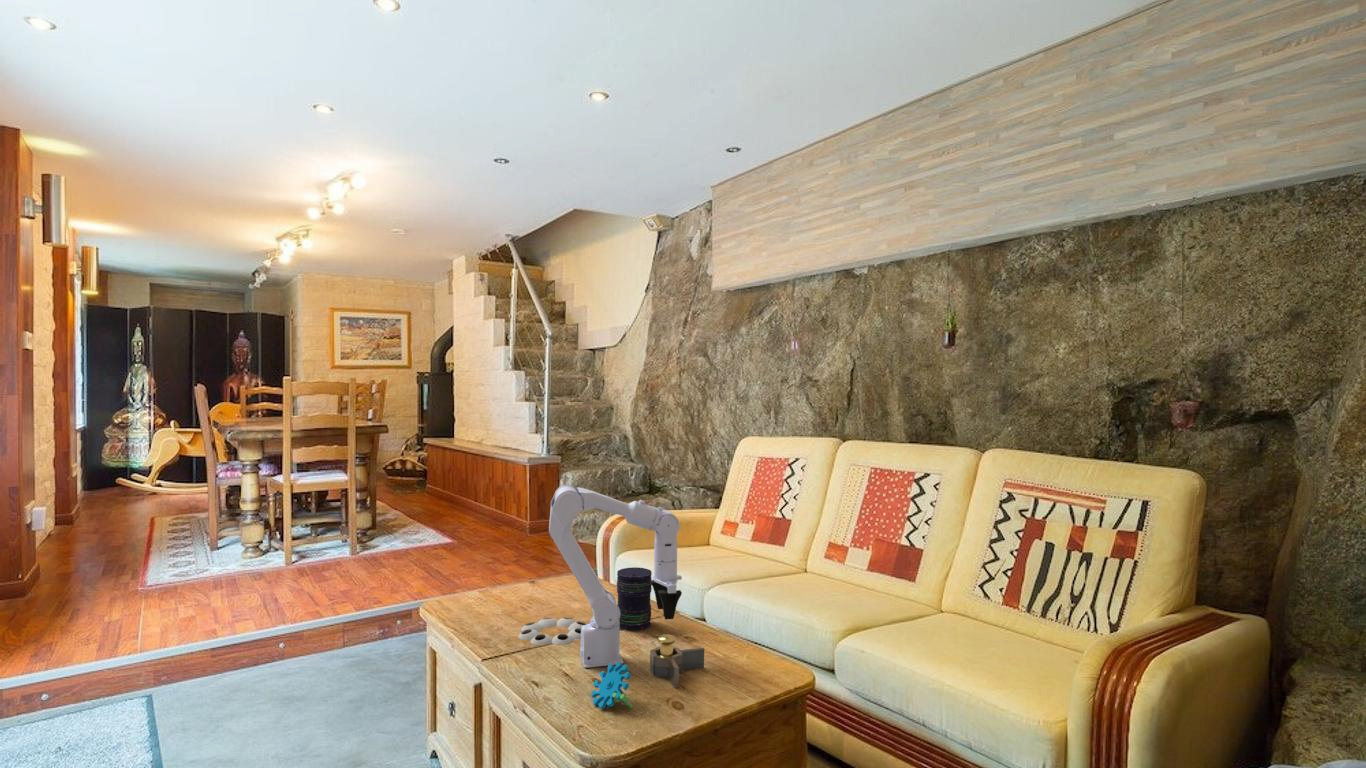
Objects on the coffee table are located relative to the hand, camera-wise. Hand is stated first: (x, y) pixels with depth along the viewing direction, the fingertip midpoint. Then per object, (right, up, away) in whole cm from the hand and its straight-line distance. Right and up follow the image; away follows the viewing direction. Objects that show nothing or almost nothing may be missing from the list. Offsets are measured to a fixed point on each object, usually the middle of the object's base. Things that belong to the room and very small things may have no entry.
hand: (665, 613), depth 171 cm
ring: (-31, -11, +15) cm, 36 cm away
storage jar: (-9, -11, +21) cm, 25 cm away
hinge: (+4, -10, -11) cm, 16 cm away
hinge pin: (0, -11, -10) cm, 14 cm away
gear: (-11, -11, -26) cm, 30 cm away
